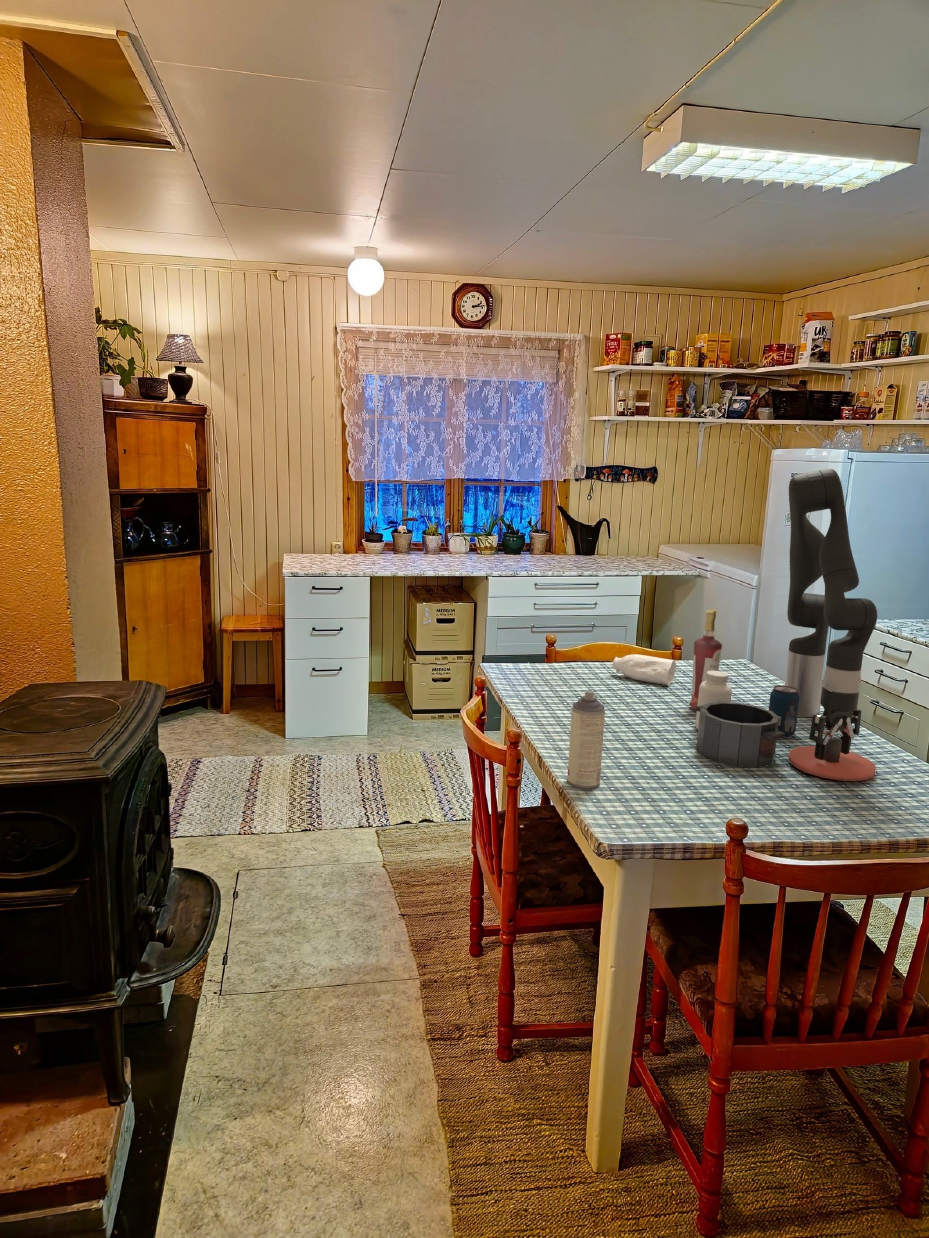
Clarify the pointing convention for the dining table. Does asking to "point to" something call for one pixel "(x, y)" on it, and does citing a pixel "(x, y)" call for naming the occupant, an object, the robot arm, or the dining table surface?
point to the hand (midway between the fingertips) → (831, 755)
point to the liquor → (705, 656)
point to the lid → (832, 762)
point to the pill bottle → (713, 690)
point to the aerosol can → (586, 742)
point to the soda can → (785, 708)
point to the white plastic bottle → (646, 668)
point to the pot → (738, 734)
